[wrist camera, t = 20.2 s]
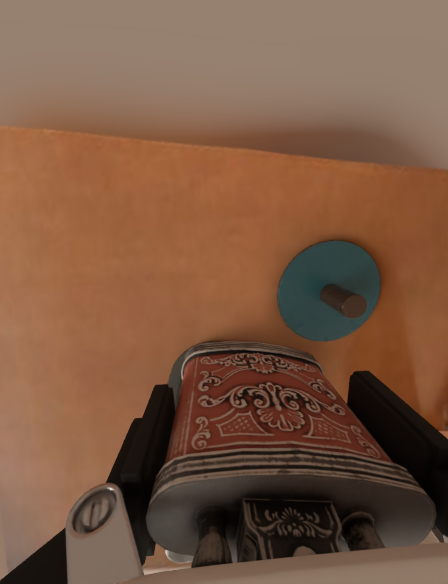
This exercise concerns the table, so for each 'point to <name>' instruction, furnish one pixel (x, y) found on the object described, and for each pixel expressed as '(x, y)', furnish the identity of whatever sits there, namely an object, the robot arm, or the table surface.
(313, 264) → the tin lid
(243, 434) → the lighter
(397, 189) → the table surface
